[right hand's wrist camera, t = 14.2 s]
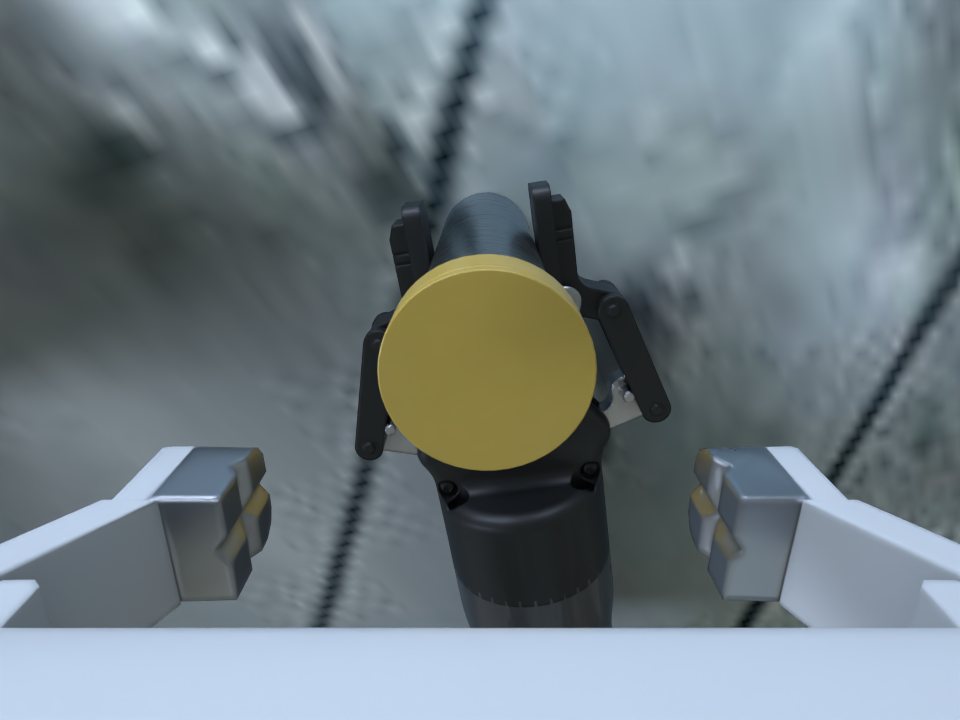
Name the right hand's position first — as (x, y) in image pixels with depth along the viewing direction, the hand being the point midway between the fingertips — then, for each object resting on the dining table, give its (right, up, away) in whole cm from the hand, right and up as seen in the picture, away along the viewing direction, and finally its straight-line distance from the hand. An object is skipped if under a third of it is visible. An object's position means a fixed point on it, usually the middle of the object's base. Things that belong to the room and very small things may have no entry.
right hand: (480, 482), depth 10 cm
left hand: (0, +8, +13) cm, 15 cm away
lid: (0, +2, +4) cm, 4 cm away
